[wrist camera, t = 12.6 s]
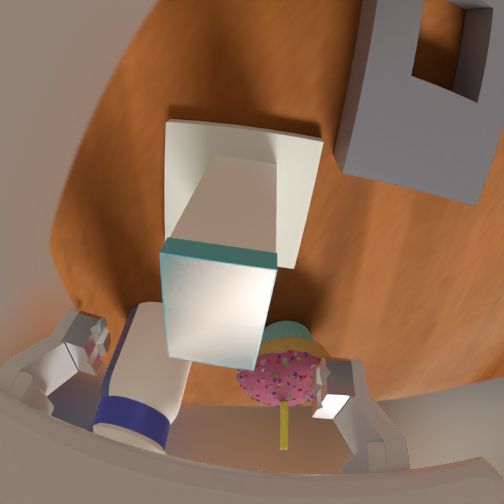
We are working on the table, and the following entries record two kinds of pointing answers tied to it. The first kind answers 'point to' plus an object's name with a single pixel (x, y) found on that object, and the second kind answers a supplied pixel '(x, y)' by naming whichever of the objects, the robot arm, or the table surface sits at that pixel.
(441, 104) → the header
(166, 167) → the mat
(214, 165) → the plug
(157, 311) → the water bottle
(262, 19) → the table surface
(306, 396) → the cupcake
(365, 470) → the robot arm
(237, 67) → the table surface
